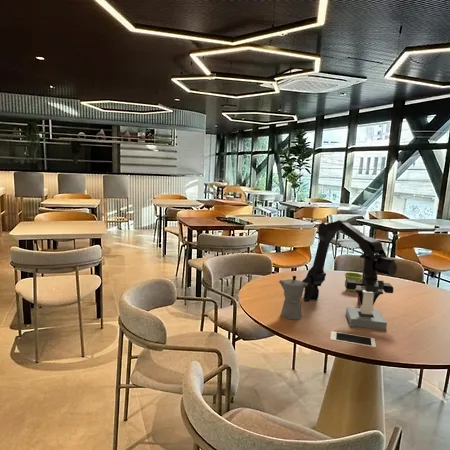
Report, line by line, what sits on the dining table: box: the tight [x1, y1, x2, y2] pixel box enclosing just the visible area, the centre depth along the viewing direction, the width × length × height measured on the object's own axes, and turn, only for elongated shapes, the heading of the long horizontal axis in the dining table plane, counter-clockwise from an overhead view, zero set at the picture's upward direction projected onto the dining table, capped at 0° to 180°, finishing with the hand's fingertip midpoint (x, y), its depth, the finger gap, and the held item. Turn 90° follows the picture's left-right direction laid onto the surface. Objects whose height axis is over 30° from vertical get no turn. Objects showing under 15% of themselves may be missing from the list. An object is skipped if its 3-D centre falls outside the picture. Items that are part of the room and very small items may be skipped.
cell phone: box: [330, 330, 377, 348], centre depth 142 cm, size 8×16×1 cm, turn 72°
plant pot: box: [344, 271, 362, 293], centre depth 202 cm, size 9×9×9 cm
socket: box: [345, 306, 388, 331], centre depth 160 cm, size 14×14×3 cm
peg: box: [360, 290, 374, 315], centre depth 159 cm, size 4×4×9 cm
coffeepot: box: [278, 275, 315, 321], centre depth 161 cm, size 15×9×18 cm, turn 68°
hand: (366, 305), depth 159 cm, fingers closed on peg, 4 cm apart
